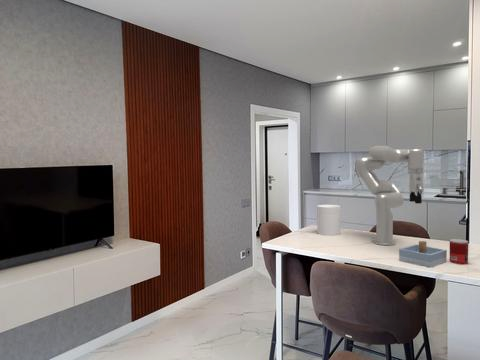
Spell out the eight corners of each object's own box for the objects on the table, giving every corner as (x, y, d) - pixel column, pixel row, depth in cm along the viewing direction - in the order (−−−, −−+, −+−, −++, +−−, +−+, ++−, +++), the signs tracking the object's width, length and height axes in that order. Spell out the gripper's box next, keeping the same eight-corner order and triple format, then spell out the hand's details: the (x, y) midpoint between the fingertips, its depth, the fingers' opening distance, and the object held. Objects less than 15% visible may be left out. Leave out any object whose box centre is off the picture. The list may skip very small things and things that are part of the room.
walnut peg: (417, 260, 184) (417, 241, 183) (420, 259, 186) (421, 240, 185) (424, 262, 181) (424, 242, 180) (427, 261, 183) (427, 241, 182)
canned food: (469, 264, 175) (469, 242, 175) (450, 263, 178) (451, 241, 178) (466, 260, 182) (466, 239, 182) (448, 259, 185) (448, 238, 185)
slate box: (399, 260, 185) (399, 248, 185) (415, 255, 194) (415, 244, 194) (430, 267, 172) (430, 255, 172) (446, 261, 181) (446, 250, 181)
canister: (313, 234, 256) (313, 206, 255) (323, 230, 269) (322, 204, 268) (335, 236, 246) (334, 207, 245) (343, 232, 259) (343, 205, 258)
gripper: (428, 171, 188) (428, 204, 189) (417, 171, 205) (417, 200, 206) (413, 172, 189) (412, 204, 190) (403, 171, 206) (403, 200, 207)
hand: (415, 202), depth 198 cm, fingers open, 9 cm apart
